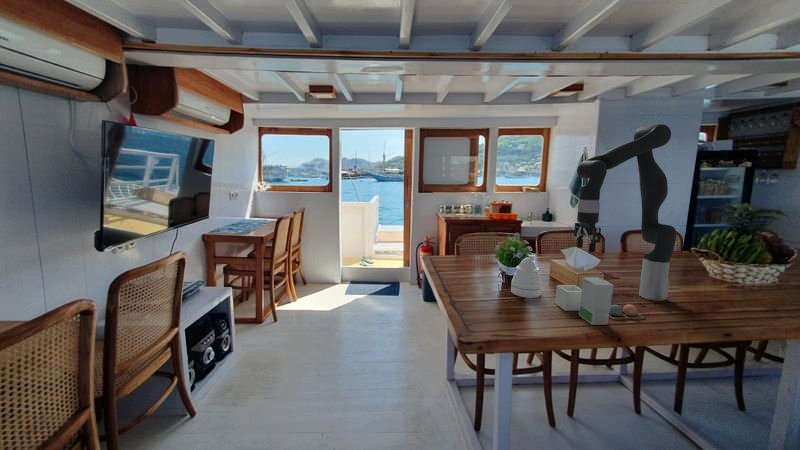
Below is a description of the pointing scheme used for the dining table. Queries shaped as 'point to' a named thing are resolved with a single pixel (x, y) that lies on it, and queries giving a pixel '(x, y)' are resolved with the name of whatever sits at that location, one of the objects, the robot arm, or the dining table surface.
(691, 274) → the dining table surface
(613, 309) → the ball slate
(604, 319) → the skincare box
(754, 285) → the dining table surface
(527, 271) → the honey pot
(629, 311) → the ball terracotta
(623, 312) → the rack
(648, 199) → the robot arm
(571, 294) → the open square cup
